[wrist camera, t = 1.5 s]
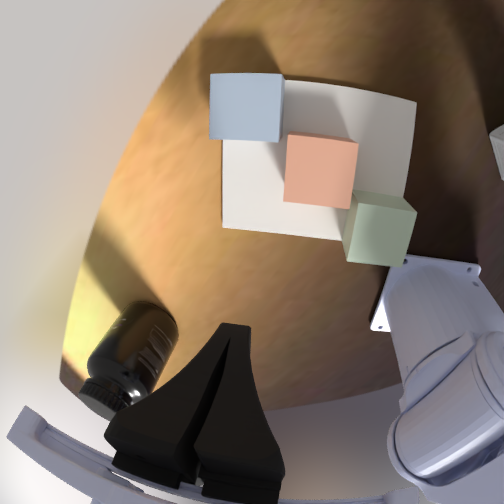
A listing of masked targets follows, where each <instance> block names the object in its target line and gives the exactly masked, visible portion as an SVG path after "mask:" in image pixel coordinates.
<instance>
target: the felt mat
mask: <svg viewBox="0 0 504 504" xmlns="http://www.w3.org/2000/svg"><path fill="white" fill-rule="evenodd" d="M416 105H417V102H413V101H409V100H406V99H402V98H398V97H394V96H390V95H385V94H381V93H376V92H372V91H367V90H361V89H356V88H350V87H344V86H337V85H330V84H323V83H314V82H304V81H293V80H285V93H284V112H283V130H282V138H281V140H280V141H279V142H265V141H248V140H223V227H224V228H234V229H243V230H253V231H262V232H271V233H280V234H289V235H298V236H307V237H315V238H324V239H332V240H340V241H342V238H343V233H344V227H345V222H346V216H347V210H348V209H341V208H334V207H326V206H318V205H309V204H301V203H292V202H283V195H284V182H285V169H286V155H287V140H288V134H289V132H290V131H296V132H305V133H314V134H323V135H330V136H337V137H344V138H350V139H352V140H354V141H355V142H357V143H358V144H359V145H358V154H357V162H356V169H355V176H354V183H353V189H354V190H361V191H367V192H373V193H380V194H385V195H391V196H397V197H402V198H403V195H404V190H405V185H406V179H407V174H408V168H409V162H410V156H411V149H412V142H413V134H414V126H415V116H416Z"/></svg>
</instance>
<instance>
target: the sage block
mask: <svg viewBox="0 0 504 504" xmlns="http://www.w3.org/2000/svg"><path fill="white" fill-rule="evenodd" d="M416 216H417V212H416V211H415V210H414V209H413V208H412V206H411V205H410V204H409V203H408V202H407V201H406V200H405V199H404V198H402V197H397V196H391V195H385V194H380V193H373V192H367V191H361V190H354V189H353V190H352V196H351V202H350V208H349V209H348V210H347V216H346V222H345V227H344V233H343V238H342V243H343V247H344V251H345V255H346V260H347V261H349V262H358V263H366V264H375V265H383V266H392V267H400V268H402V265H403V262H404V258H405V255H406V252H407V249H408V245H409V242H410V238H411V235H412V231H413V227H414V224H415V220H416Z"/></svg>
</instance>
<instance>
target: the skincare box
mask: <svg viewBox="0 0 504 504" xmlns="http://www.w3.org/2000/svg"><path fill="white" fill-rule="evenodd" d="M489 137H490V140H491V144H492V147H493V151H494V154H495V158H496V162H497V165H498V169H499V172H500V176H501V179H502V180H504V124H503V125H502V126H500V127H498V128H497V129H495V130H493V131H492V132H491V133H490V134H489Z"/></svg>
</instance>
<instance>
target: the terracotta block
mask: <svg viewBox="0 0 504 504" xmlns="http://www.w3.org/2000/svg"><path fill="white" fill-rule="evenodd" d="M358 145H359V144H358V143H357V142H355V141H354V140H352V139H350V138H344V137H337V136H330V135H323V134H314V133H305V132H296V131H290V132H289V134H288V140H287V155H286V169H285V182H284V195H283V202H292V203H301V204H309V205H318V206H326V207H334V208H341V209H349V208H350V202H351V196H352V190H353V183H354V176H355V169H356V162H357V154H358Z"/></svg>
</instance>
